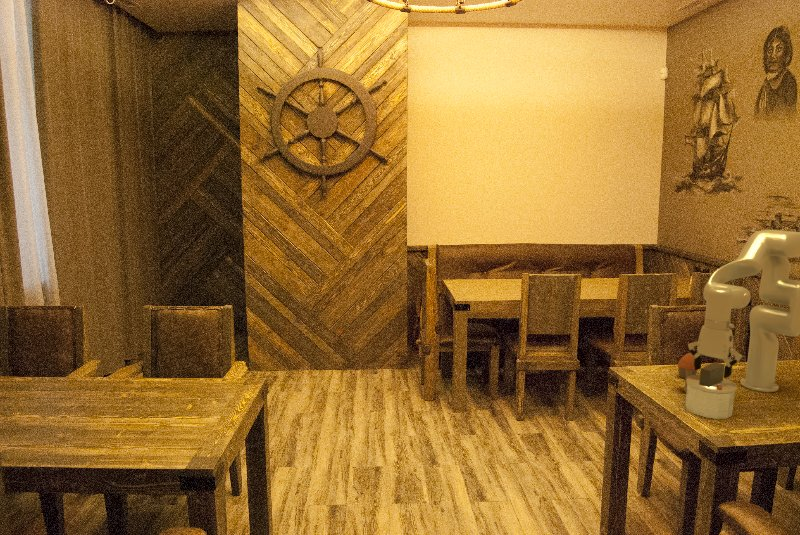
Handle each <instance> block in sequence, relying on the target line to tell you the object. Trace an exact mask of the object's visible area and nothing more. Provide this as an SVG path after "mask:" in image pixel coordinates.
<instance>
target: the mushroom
mask: <svg viewBox="0 0 800 535" xmlns="http://www.w3.org/2000/svg"><path fill="white" fill-rule="evenodd" d="M694 360H695V358H693V355H692V354H691V352H688V353H686V354H684V355H683V356H682V357H681V358H680V359H679V360H678V363H677V367H678V366H679V367H680V368H682V369H686V379H684V380H685V381H684V382H685V383H684V392H685V393H687V383H686V380H687V377H688V376H691V375H692V370H695V367H694Z"/></svg>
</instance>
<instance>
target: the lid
mask: <svg viewBox="0 0 800 535" xmlns="http://www.w3.org/2000/svg"><path fill="white" fill-rule="evenodd" d="M725 366H726V363H725V364H724V363H720V362H718V361H714V362H712V363H710V364H708V365H706V366H705V365H704V367H701V368H700V372H699V373H700V374H696V375H691V376H688V377H687V380H686V379H685V380H686V383H687V384H688V385H689V386H690V387H692V388H694V389H697V390H700V391H704V392H709V393H716V394H729V393H733V392H734V393H735V392H736V391H737V384H736V383H735V382H733V381H732V380H730V379H728V378H724V370H725Z"/></svg>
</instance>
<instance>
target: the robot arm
mask: <svg viewBox="0 0 800 535" xmlns="http://www.w3.org/2000/svg"><path fill="white" fill-rule="evenodd" d="M796 257H797V258H798V257H800V231H792V230H791V231H788V230H780V229H762V230H757V231H754V232H753V233H752V234H750V237H749V238H748V240H747V241H746V243H745V245H744V246H743V247H742V249H741V251H740V253H739V254H738V256H737V258H736V259H734V260H733V261H730V262H729V263H726V264H724V265H722V266H720V267H719V268H717V269H716V270H715V271H714V272H713V273H712V274H711V275H710V277H709V279H708V280H707V282H706V283H705V286H704V287H703V291H702V292H703V293H702V294H703V299H704V300H705V301H706V303H705V304H706V305H705V314H704V321H703V322H704V323H703V325H702V326H701V329H700V331H699V332H700V333H699V336H698V340H697V341H694V342H690V343H688V344H687V346H688V350H689V353H691V354H692V355H693V358H695V360H694V367H695V370H697V371H699V370H701V368H702V359H703V358H702V356H705V357H708V358H709V357H710V358H711V359H712V358H714V359H717V360H721V361H723V362H724V363H725V366H724V375H723V378H725V379H728V378H729V377H731V375H732V373H733V372H732V371H733V366H734V365H736V364H738V363H739V361H741V359H742V357H743V355H742V354H741V353H739V352H738V351H737V350H736V349H734V336H733V330H732V329H734V328H735V324H733V323H731V322H732V321H731V315H732V310H733V309H736V310H737V309H743V308H746V307H747V306H748V305H749V303H750V302H751V299H752V298H751V297H752V296H751V292H750V290H748V288H746V287H745V286H744V287H743V286H740V285H739V286H738V285H733V284H727V283H728V282H730V281H733V280H737V279H743V278H747V277H753V276H756V275H759V274H760V273H761V272H762V273H761V278H760V284H759V288H758V289H759V290H758V294H759V296H758V297H759V298H760V299H761V300H762V301H764V302H769V303H773V304H778V305H784V306H789V309H788V308H783V307H780V306H779V307H778V306H775V305H774V306H773V305H769V304H768V305H766V304H759V305H755V306H753V307H752V308H751V310H750V312H749V316H748V317H749V319H748V320H749V329H750V332H749V335H750V336H749V345H748V353H747V363H746V371H745V377H743V378H741V379H740V381H739V382H740V385H741V386H742V387H744V388H746V389H749V390H752V391H755V392H762V393H774V392H777V391H779V387H780V386H779V385H778V384H777V383H775V381H776V380H775V379H776V372H777V371H776V370H777V364H778V356H779V348H780V347H779V346H780V344H779V340H778V337H777V336H776V334H779V335H784V336H788V337H798V336H799V335H800V280H796V279H791V278H789V277H790V270H791V264H790V263H791V262H790V261H789V259H788V258H796ZM696 346H697V348H696V349H695V347H696ZM733 356H734V357H735V358H734V359H732V357H733Z"/></svg>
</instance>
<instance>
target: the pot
mask: <svg viewBox="0 0 800 535" xmlns="http://www.w3.org/2000/svg"><path fill="white" fill-rule="evenodd" d="M685 393H686V394H685V405H684V406H685V410H686V409H687V410H686V411H688V410H689V411H690V413H691V412H692V413H691V414H693V413H694V414H693V415H695V414H697V415H696V416H698V415H700V416H699V417H701V416H703V417H702V418H704V417H707V419H711V418H713V419H714V420H724V419H726V420H727V419H729V418H731V417H733V408H734V401H735V392H733V393H729V394H716V393H709V392H704V391H700V390H697V389H694V388H692V387H690V386H689V385H688V384H687V392H685ZM689 411H688V412H689ZM713 419H712V420H713Z"/></svg>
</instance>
